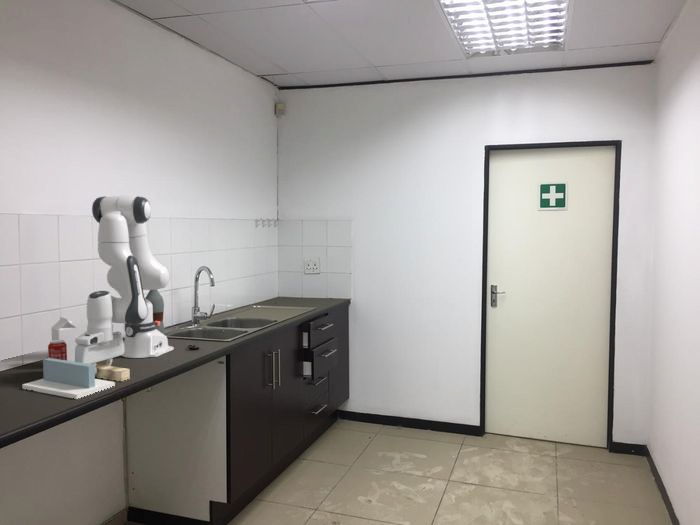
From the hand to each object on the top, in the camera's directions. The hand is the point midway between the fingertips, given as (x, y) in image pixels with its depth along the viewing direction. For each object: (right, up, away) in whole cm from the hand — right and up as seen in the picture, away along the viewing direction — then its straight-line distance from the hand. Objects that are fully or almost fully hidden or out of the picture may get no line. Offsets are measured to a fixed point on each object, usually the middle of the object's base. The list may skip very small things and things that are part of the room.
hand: (101, 372), depth 217 cm
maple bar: (0, -2, 0) cm, 2 cm away
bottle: (-1, +3, +63) cm, 63 cm away
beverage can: (-19, -1, +5) cm, 19 cm away
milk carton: (-21, 0, +16) cm, 27 cm away
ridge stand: (-5, -3, -14) cm, 15 cm away
